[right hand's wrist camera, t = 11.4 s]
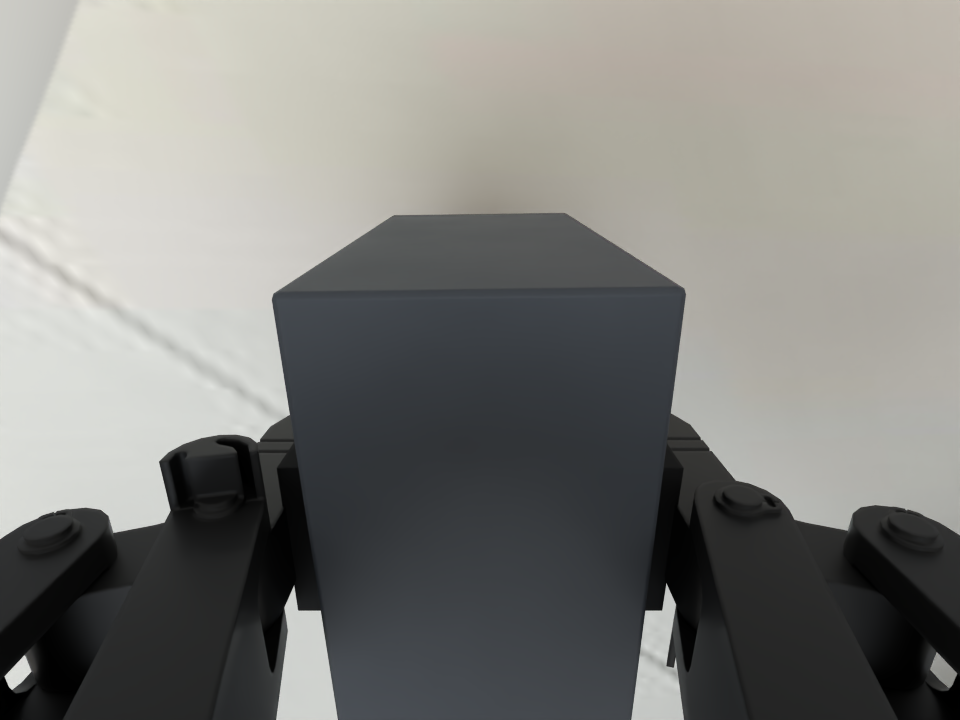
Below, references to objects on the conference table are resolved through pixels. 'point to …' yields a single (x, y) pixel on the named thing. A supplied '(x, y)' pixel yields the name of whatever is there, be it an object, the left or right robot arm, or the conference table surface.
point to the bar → (481, 463)
